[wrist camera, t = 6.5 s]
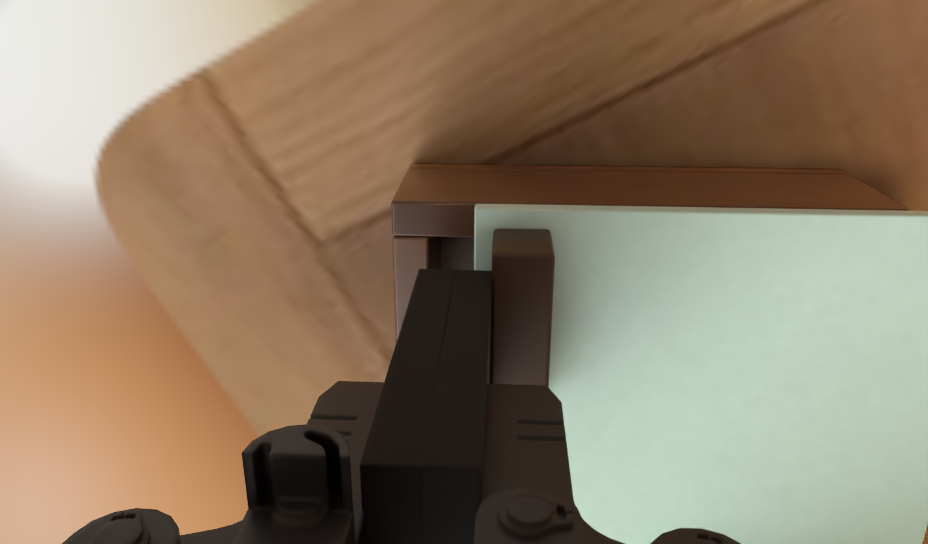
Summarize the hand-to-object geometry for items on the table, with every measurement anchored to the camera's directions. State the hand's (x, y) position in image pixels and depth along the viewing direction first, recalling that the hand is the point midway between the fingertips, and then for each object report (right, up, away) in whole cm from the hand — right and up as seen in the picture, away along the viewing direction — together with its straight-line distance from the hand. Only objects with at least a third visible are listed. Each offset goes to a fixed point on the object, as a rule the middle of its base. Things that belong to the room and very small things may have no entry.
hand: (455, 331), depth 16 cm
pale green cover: (+6, -2, +2) cm, 6 cm away
